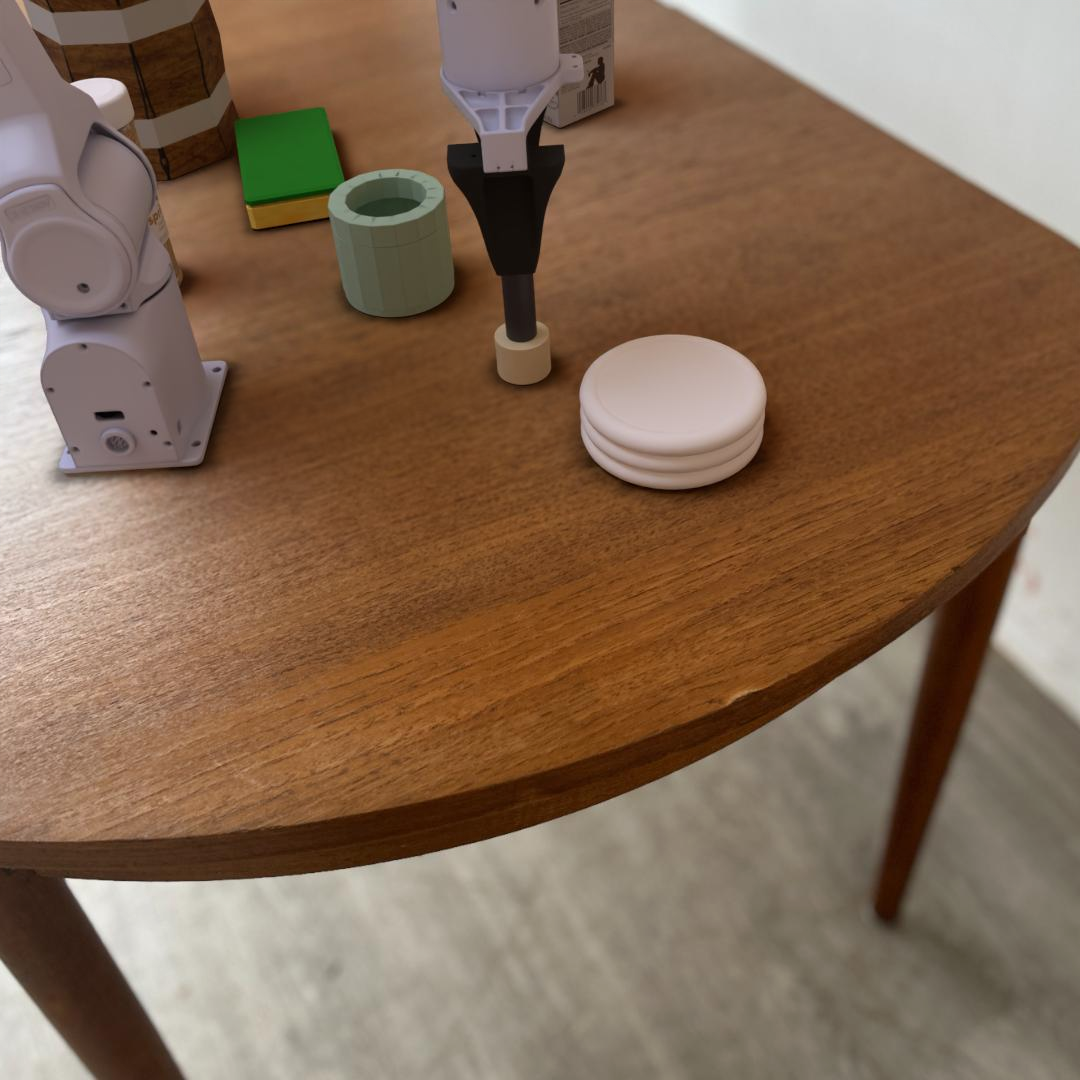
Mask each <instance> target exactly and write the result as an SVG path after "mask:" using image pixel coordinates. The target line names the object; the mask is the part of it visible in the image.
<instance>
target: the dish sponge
mask: <svg viewBox="0 0 1080 1080" xmlns="http://www.w3.org/2000/svg"><path fill="white" fill-rule="evenodd" d="M234 126H235V133H236V147H237V154H238V161H239V168H240V175H241V182H242V190H243V191H242V192H243V196H244V197H243V198H244V203H245V206H246V210H247V216H248V218H249V219H248V220H249V223H250V227H251V229H255V230H261V229H267V228H272V227H278V226H284V225H289V224H290V225H291V224H296V223H301V222H308V221H313V220H321V219H326V218H327V219H328V218H330V216H329V211H328V202H329V197H330V194H331V193H332V192H333V191H334V190H335V189H336V188H337V187H338V186H339V185H340V184H342V183H344V182H346V181H345V176H344V173H343V170H342V166H341V161H340V158H339V154H338V150H337V148H336V144H335V141H334V140H335V139H334V137H333V133H332V129H331V125H330V122H329V118H328V115H327V110H326V107H323V106H315V107H309V108H303V109H297V110H292V111H291V110H290V111H289V110H288V111H283V112H275V113H271V114H265V115H264V114H263V115H258V116H251V117H244V118H240V119H238V120H236V121H235V122H234Z"/></svg>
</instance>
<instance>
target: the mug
mask: <svg viewBox="0 0 1080 1080" xmlns="http://www.w3.org/2000/svg"><path fill="white" fill-rule="evenodd" d="M22 3H23V6H24V8H25V12H26V15H27V19H28V22H29V24H30V26H31V27H32V29H33V31H34V32H35V34H36V36H37V38H38V39H39V41H40V43H41V44H42V46H43V48H44V49H45V51H46V53H47V54H48V56H49V58H50V59H51V61H52V63H53V64H54V66H55V68H56V69H57V71H58V73H59V75H60V76H61V78H62V79H63V80H65V81H66V82H68V83H69V84H70V83H73V82H77V81H80V80H85V79H92V78H109V79H115V80H118V81H120V82H121V83H123V84H124V85H125V86H126V88H127V91H128V94H129V97H130V100H131V103H132V106H133V110H134V117H133V118H134V120H135V122H134V125H135V128H136V131H137V135H138V138H139V142H140V144H141V147H142V150H143V153H144V154H145V156H146V157H147V158H148V160H149V162H150V164H151V166H152V168H153V171H154V173H155V177H156V181H171V180H173V179H175V178H179V177H181V176H183V175H186V174H188V173H191V172H193V171H195V170H198V169H200V168H203V167H205V166H207V165H210V164H213V163H215V162H218V161H220V160H223V159H224V158H228V157H229V155H230V153H231V151H232V149H233V147H234V145H235V143H236V142H237V140H236V133H235V126H234V122H235V121H236V120H238V119H241V118H240V116H239V113H238V110H237V108H236V105H235V103H234V100H233V96H232V92H231V88H230V84H229V79H228V75H227V71H226V65H225V59H224V51H223V46H222V37H221V33H220V30H219V27H218V24H217V21H216V18H215V14H214V12H213V8H212V5H211V3H210V0H22Z"/></svg>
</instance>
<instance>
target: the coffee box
mask: <svg viewBox="0 0 1080 1080" xmlns="http://www.w3.org/2000/svg"><path fill="white" fill-rule="evenodd" d="M557 19H558V41H559V53H560V54H579V55H581V57H582V59H583V67H584V78H583V80H582V81H580V82H578V83H570V84H564V85H562V86H561V87H560V88H559V89H558V91H557V92H556V93H555V95H554V96H553V98H552V99H551V100H550V102H549V103H548V106H547V109H546V112H545V115H544V120H543V122H545V123H548V124H550V125H552V126H554V127H556V128H563V127H566V126H568V125H571V124H573V123H575V122H577V121H580V120H582V119H585V118H586V117H590V116H591V115H593V114H596V113H598V112H601V111H604V110H606V109H608V108H610V107H612V106H614V105H615V0H557Z"/></svg>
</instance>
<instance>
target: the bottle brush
mask: <svg viewBox="0 0 1080 1080" xmlns="http://www.w3.org/2000/svg"><path fill="white" fill-rule="evenodd" d="M500 279H501V280H500V281H501V293H502V301H503V313H504V323H502V324H501V325H500V326H499V327H497V329H496V330H495V332H494V346H495V348H494V349H495V359H496V368H497V373H498V376H499V377H500V378H501V379H502V380H503V381H504V382H507V383H509V384H513V385H518V386H519V385H520V386H525V385H526V386H527V385H532V384H536V383H539V382H540V381H542V380H544V379H546V378H547V377H548V375H549V374H550V373H551V370H552V359H551V357H552V356H551V344H550V343H551V342H550V331H549V330H550V329H549V328H548V327H547V325H545V323H542V321H539V320H537V312H536V311H537V310H536V295H535V293H536V292H535V281H534V280H535V279H534V274H525V275H510V276H500Z"/></svg>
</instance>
